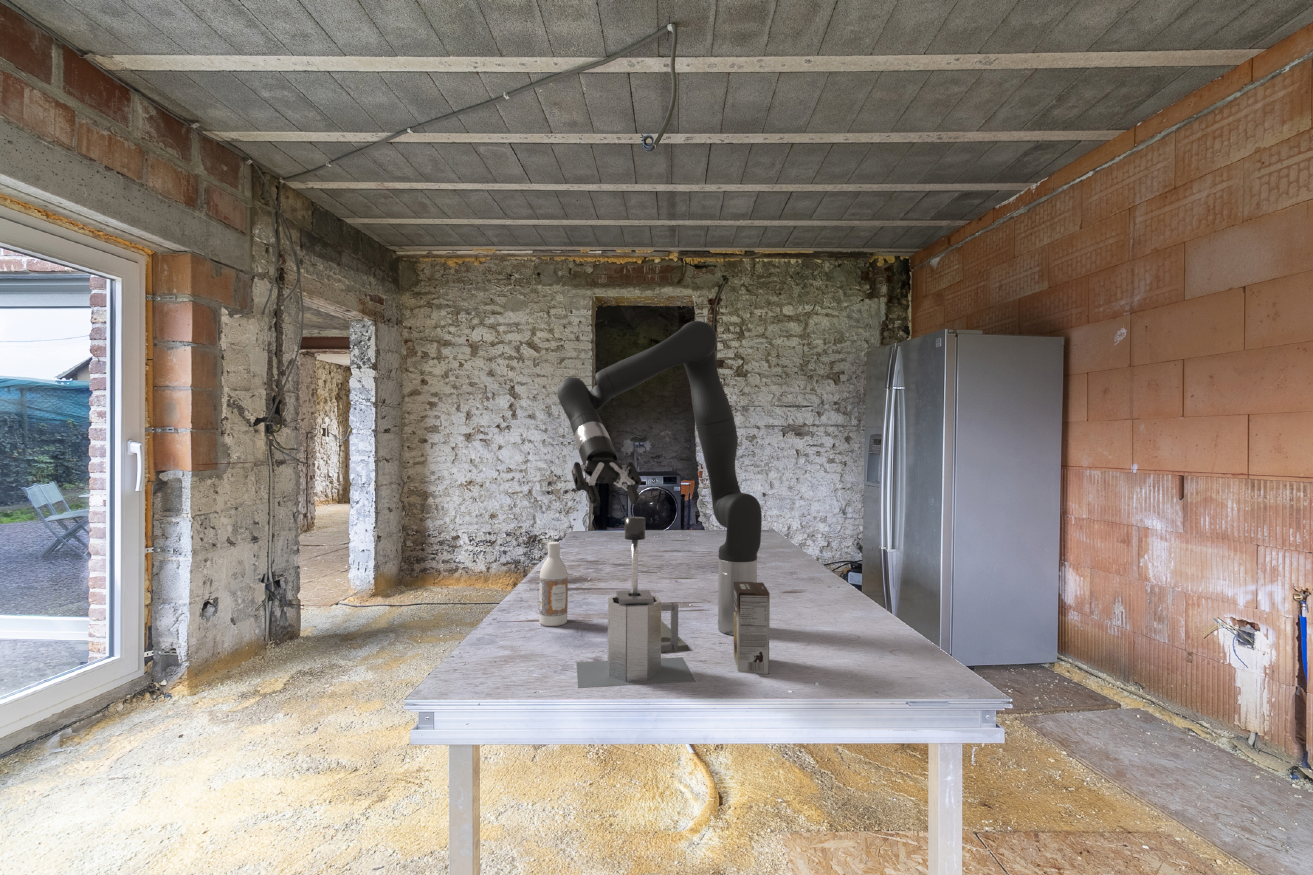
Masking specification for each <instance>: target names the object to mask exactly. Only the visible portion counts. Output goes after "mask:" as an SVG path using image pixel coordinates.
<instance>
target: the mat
mask: <svg viewBox="0 0 1313 875" xmlns="http://www.w3.org/2000/svg"><path fill="white" fill-rule="evenodd" d="M576 676H577V688H578V689H583V688H585V689H587V688H589V689H590V688H605V687H623V686H640V685H642V686H643V685H659V684H660V685H661V684H678V683H681V684H682V683H693V682H695V683H696V682H697V680H696V679H695V677H694V675H693V673H692V672H691V670H690V668H689V666H688V664H687V663H686V661H685V659H684V657H683V656H681V657H661V674H660V675H658V676H656V677H654V678H652V679H651V680H649V681H648V680H647V681H636V682H627V681H626V682H624V681H621V680H618V679H615V678H611V677H609V673H608V660H597V661H578V662H577V661H576Z"/></svg>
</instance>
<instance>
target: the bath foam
mask: <svg viewBox="0 0 1313 875" xmlns="http://www.w3.org/2000/svg"><path fill="white" fill-rule="evenodd" d="M547 556H548V557H547V558H546V560H545V561H544V563H543V564H542V567H541V568H540V571H539V572H540V573H539V586H538V587H539V589H538V590H539V594H538V595H539V599H538V600H539V604H538V605H539V606H538V610H539V611H538V612H539V613H538V616H539V617H538V618H539V619H538V622H539V624H540V625H542V626H543V627H544V626H545V627H558V626H563V625H565V624H566V623H567V622H568V609H569V608H568V606H569V605H568V604H569V603H568V597H569V596H568V594H569V593H568V592H569V588H568V587H569V586H568V584H569V581H568V580H569V578H568V577H569V575H568V574H569V573H568V569H567V566H566V564H565V563H564V561H563V560H562V558H561V543H560V542H559V541H549V542H548V543H547Z"/></svg>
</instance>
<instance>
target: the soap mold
mask: <svg viewBox="0 0 1313 875" xmlns="http://www.w3.org/2000/svg"><path fill="white" fill-rule="evenodd" d="M661 642H671V627H670V626H668V625H667V624H666V623H665V622H664V621H663V620H662V619H661ZM682 651H683V652H684V651H685V652H686V651H690V648H689V646H688V644H687V643H686V642H685V641H684V640H683V639H682V638H681V637H680V636H679V635H678V650H675V651H661V654H663V653H672V652H682Z"/></svg>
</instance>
